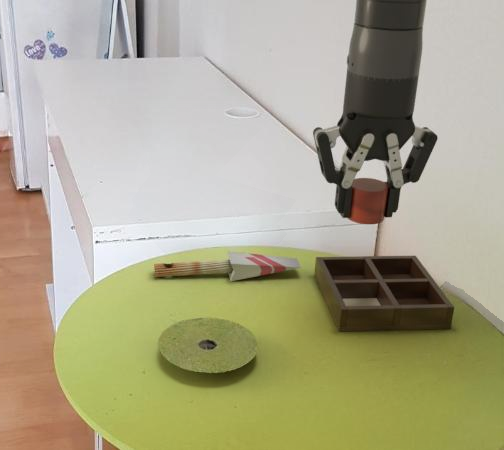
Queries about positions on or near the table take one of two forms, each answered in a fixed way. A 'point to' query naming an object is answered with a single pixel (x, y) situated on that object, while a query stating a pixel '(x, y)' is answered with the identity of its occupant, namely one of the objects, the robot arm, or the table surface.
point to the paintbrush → (230, 266)
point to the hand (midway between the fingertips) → (365, 214)
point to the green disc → (208, 345)
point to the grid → (382, 293)
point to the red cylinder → (368, 201)
